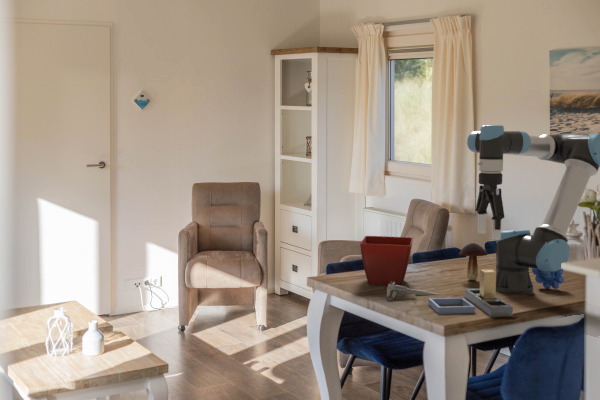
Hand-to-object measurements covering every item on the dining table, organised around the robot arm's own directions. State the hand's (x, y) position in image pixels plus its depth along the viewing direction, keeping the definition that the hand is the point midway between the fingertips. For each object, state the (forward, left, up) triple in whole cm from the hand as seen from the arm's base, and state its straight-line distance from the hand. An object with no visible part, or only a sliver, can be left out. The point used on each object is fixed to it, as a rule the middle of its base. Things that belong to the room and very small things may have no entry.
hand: (488, 236), depth 233 cm
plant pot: (+25, -43, -25) cm, 55 cm away
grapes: (-33, -27, -25) cm, 49 cm away
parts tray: (+13, +2, -24) cm, 28 cm away
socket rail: (0, 0, -24) cm, 25 cm away
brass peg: (0, 0, -24) cm, 24 cm away
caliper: (+20, -18, -25) cm, 37 cm away
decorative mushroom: (-10, -44, -25) cm, 51 cm away
